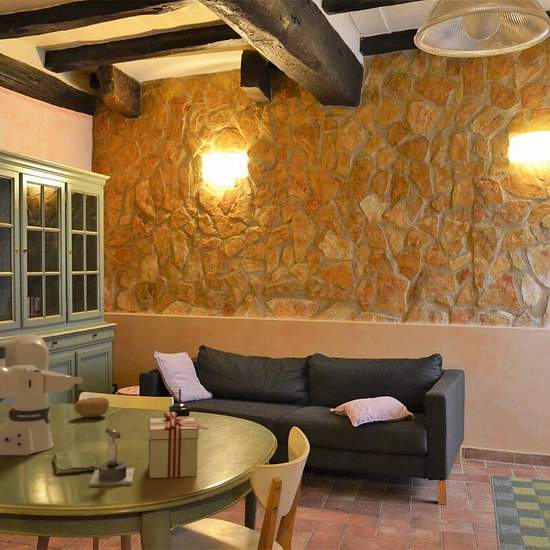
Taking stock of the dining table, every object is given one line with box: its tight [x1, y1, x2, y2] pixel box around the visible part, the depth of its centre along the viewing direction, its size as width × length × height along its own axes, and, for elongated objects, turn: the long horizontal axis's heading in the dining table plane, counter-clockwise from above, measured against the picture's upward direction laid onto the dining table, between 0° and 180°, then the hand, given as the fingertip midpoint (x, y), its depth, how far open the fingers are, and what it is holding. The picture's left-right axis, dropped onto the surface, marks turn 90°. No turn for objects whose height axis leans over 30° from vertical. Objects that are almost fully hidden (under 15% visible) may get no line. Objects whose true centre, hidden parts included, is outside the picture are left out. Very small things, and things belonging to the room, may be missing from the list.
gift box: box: [147, 411, 209, 479], centre depth 205 cm, size 17×18×17 cm
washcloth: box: [52, 449, 99, 476], centre depth 209 cm, size 13×18×3 cm
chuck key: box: [104, 427, 121, 467], centre depth 197 cm, size 7×3×14 cm, turn 38°
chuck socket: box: [89, 460, 136, 487], centre depth 197 cm, size 12×12×4 cm
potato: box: [73, 396, 110, 419], centre depth 271 cm, size 10×14×8 cm
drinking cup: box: [168, 388, 192, 417], centre depth 231 cm, size 8×8×20 cm
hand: (74, 378), depth 190 cm, fingers open, 8 cm apart
